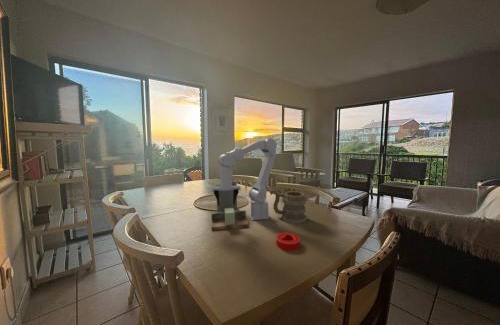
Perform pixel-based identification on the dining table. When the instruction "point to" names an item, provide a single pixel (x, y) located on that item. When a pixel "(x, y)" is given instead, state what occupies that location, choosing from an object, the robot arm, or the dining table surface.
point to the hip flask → (226, 199)
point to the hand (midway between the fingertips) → (226, 204)
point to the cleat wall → (219, 223)
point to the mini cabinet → (229, 216)
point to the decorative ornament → (288, 241)
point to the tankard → (291, 206)
